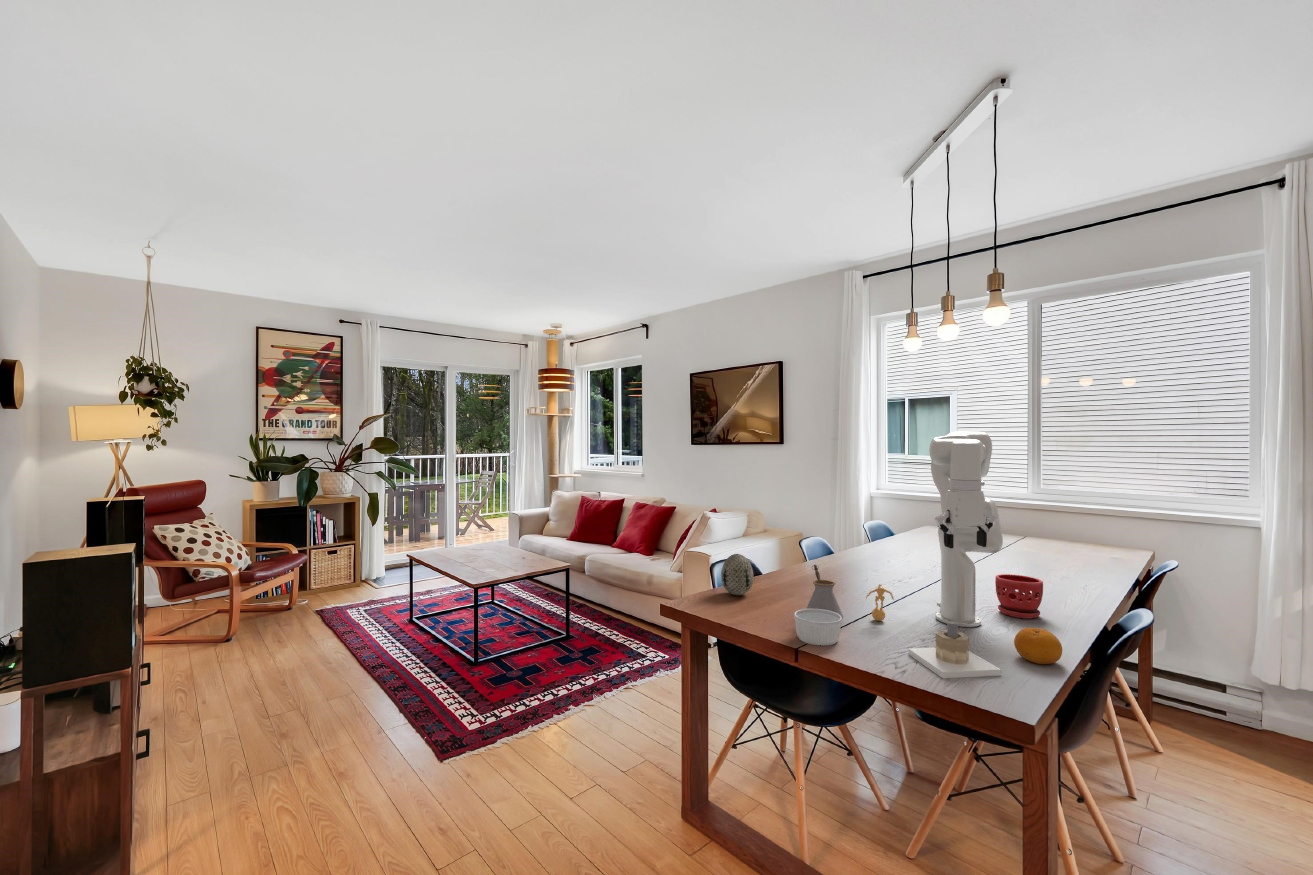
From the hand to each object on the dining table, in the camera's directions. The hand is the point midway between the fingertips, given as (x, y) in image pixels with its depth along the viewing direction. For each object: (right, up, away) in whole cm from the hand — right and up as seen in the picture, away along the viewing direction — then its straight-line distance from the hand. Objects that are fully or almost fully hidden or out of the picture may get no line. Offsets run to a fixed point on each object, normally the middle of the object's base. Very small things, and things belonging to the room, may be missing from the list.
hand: (965, 546), depth 156 cm
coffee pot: (-34, -27, +22) cm, 49 cm away
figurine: (-16, -27, +19) cm, 37 cm away
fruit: (+13, -28, -11) cm, 32 cm away
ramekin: (-40, -28, +4) cm, 49 cm away
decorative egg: (-57, -27, +48) cm, 79 cm away
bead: (-11, -26, -14) cm, 31 cm away
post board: (-11, -27, -14) cm, 32 cm away
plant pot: (+32, -27, +26) cm, 50 cm away
